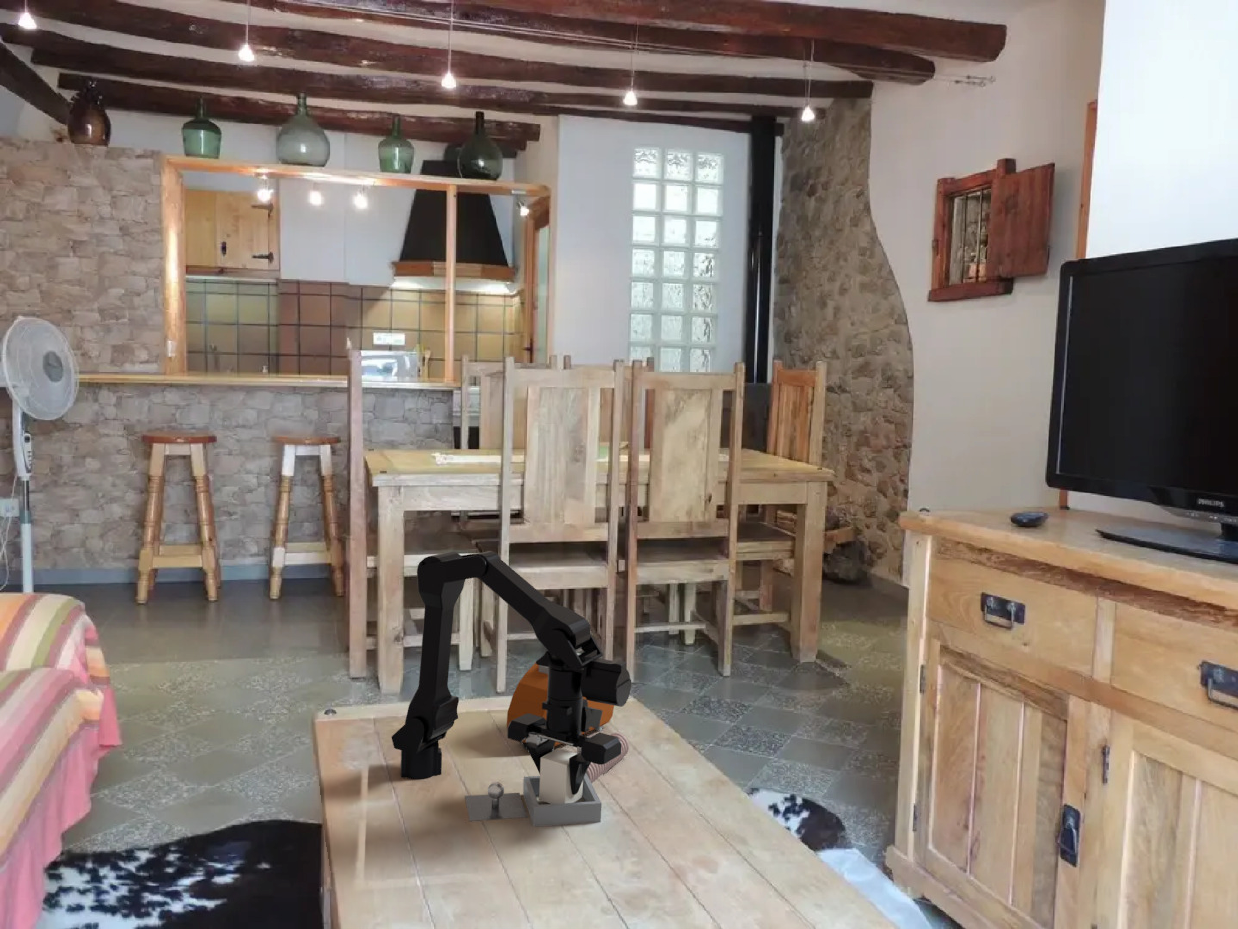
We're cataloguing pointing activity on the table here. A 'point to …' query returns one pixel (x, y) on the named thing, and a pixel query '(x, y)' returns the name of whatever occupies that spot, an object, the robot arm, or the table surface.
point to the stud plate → (495, 805)
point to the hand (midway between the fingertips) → (561, 789)
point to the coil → (597, 770)
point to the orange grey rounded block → (543, 698)
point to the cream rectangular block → (557, 778)
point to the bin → (561, 806)
